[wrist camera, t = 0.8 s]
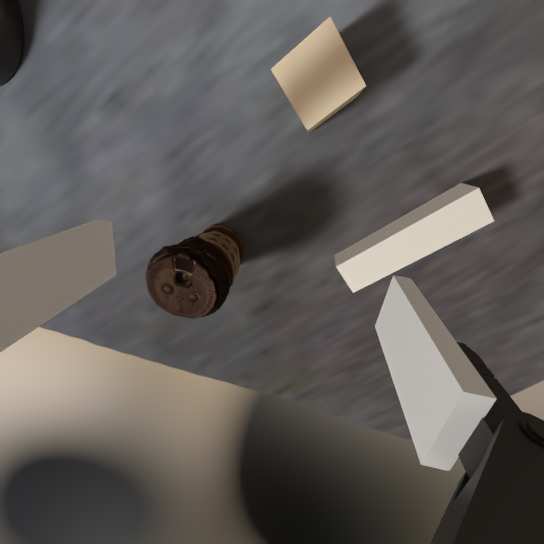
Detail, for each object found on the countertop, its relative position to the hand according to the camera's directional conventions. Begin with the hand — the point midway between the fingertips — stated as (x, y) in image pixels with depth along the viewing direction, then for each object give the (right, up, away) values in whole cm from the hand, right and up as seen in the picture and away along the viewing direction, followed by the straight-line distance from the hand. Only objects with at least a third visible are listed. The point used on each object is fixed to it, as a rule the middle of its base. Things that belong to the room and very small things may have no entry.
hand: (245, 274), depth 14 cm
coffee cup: (-6, +4, +26) cm, 27 cm away
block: (+6, +19, +17) cm, 27 cm away
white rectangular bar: (+17, +5, +22) cm, 28 cm away
